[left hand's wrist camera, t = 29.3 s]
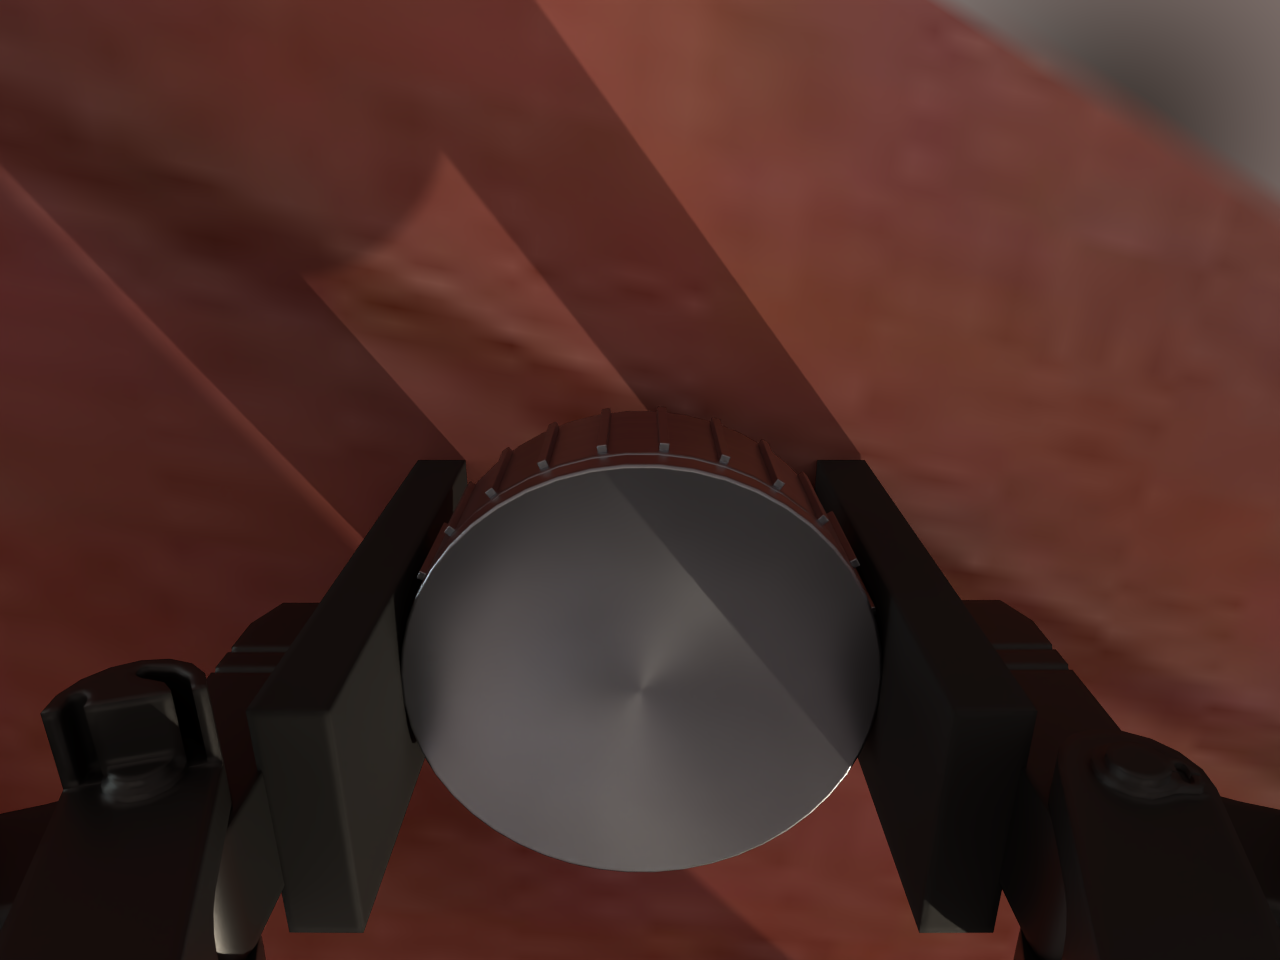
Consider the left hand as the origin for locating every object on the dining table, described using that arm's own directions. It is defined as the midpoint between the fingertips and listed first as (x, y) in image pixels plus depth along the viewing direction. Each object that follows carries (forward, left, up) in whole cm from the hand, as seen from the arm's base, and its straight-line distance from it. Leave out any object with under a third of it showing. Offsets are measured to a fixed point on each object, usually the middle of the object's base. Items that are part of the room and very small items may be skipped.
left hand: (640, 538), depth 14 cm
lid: (0, 0, +4) cm, 4 cm away
